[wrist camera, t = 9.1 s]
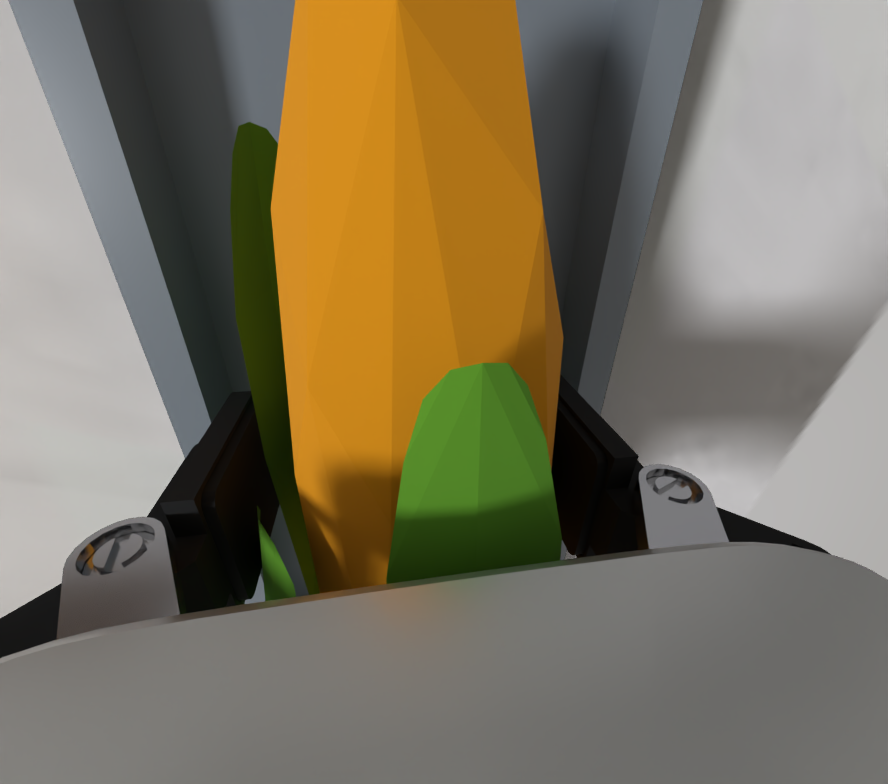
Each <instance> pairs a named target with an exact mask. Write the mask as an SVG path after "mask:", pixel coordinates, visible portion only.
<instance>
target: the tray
mask: <svg viewBox="0 0 888 784" xmlns="http://www.w3.org/2000/svg"><path fill="white" fill-rule="evenodd" d="M515 1H516V9H517V16H518V24H519V32H520V39H521V47H522V54H523V62H524V69H525V77H526V85H527V92H528V100H529V107H530V115H531V122H532V130H533V138H534V145H535V153H536V160H537V168H538V175H539V183H540V191H541V198H542V206H543V213H544V219H545V225H546V231H547V238H548V244H549V250H550V256H551V262H552V269H553V275H554V281H555V287H556V294H557V300H558V306H559V312H560V318H561V325H562V331H563V337H564V338H563V349H562V360H561V371H560V374H561V375H562V376H563V377H564V378H565V380H566V381H567V382H568V383H569V384H570V385H571V386H572V387H573V388H574V389H575V390H576V391H577V392H578V393H579V394H580V395H581V396H582V397H583V398H584V399H585V401H586V402H587V403H588V404H589V405H590V406H591V407H592V408H593V409H594V410H595V411H596V412H597V413H598V414H599V415H600V414H601V410H602V406H603V402H604V398H605V394H606V390H607V386H608V382H609V378H610V374H611V370H612V366H613V362H614V358H615V354H616V350H617V346H618V342H619V338H620V334H621V330H622V326H623V321H624V317H625V313H626V309H627V305H628V301H629V297H630V293H631V289H632V285H633V281H634V277H635V273H636V269H637V265H638V261H639V257H640V253H641V249H642V245H643V241H644V237H645V233H646V229H647V225H648V221H649V217H650V213H651V209H652V205H653V201H654V197H655V193H656V189H657V185H658V181H659V177H660V173H661V168H662V164H663V160H664V156H665V152H666V148H667V144H668V140H669V136H670V132H671V128H672V124H673V120H674V116H675V112H676V108H677V104H678V100H679V96H680V92H681V88H682V84H683V80H684V76H685V72H686V68H687V64H688V60H689V56H690V52H691V48H692V44H693V40H694V36H695V32H696V28H697V24H698V20H699V16H700V11H701V7H702V3H703V0H515ZM9 3H10V5H11V8H12V11H13V13H14V16H15V18H16V21H17V24H18V26H19V29H20V31H21V34H22V37H23V39H24V42H25V44H26V47H27V50H28V52H29V55H30V57H31V60H32V63H33V65H34V68H35V70H36V73H37V76H38V78H39V81H40V83H41V86H42V88H43V91H44V94H45V96H46V99H47V101H48V104H49V107H50V109H51V112H52V114H53V117H54V120H55V122H56V125H57V127H58V130H59V133H60V135H61V138H62V140H63V143H64V146H65V148H66V151H67V153H68V156H69V159H70V161H71V164H72V166H73V169H74V171H75V174H76V177H77V179H78V182H79V184H80V187H81V190H82V192H83V195H84V197H85V200H86V203H87V205H88V208H89V210H90V213H91V216H92V218H93V221H94V223H95V226H96V229H97V231H98V234H99V236H100V239H101V242H102V244H103V247H104V249H105V252H106V255H107V257H108V260H109V262H110V265H111V267H112V270H113V273H114V275H115V278H116V280H117V283H118V286H119V288H120V291H121V293H122V296H123V299H124V301H125V304H126V306H127V309H128V312H129V314H130V317H131V319H132V322H133V325H134V327H135V330H136V332H137V335H138V338H139V340H140V343H141V345H142V348H143V350H144V353H145V356H146V358H147V361H148V363H149V366H150V369H151V371H152V374H153V376H154V379H155V382H156V384H157V387H158V389H159V392H160V395H161V397H162V400H163V402H164V405H165V408H166V410H167V413H168V415H169V418H170V421H171V423H172V426H173V428H174V431H175V433H176V436H177V439H178V441H179V444H180V446H181V449H182V452H183V454H184V457H185V458H186V457H187V455H188V454H189V452H190V451H191V449H192V448H193V447H194V446H195V445H196V444H198V443H199V441H200V440H201V438H202V437H203V435H204V434H205V432H206V431H207V429H208V428H209V426H210V424H211V423H212V421H213V420H214V418H215V417H216V415H217V414H218V412H219V411H220V409H221V407H222V406H223V404H224V403H225V401H226V400H227V398H228V397H229V395H230V394H231V393H232V392H242V391H251V389H250V384H249V379H248V374H247V370H246V365H245V360H244V355H243V350H242V346H241V341H240V336H239V331H238V327H237V322H236V314H235V295H234V276H233V257H232V237H231V218H230V201H231V176H232V153H233V148H234V143H235V139H236V134H237V130H238V126H239V125H242V124H245V123H247V122H251V123H254V124H256V125H259V126H261V127H264V128H266V129H267V130H268V131H269V132H270V134H271V135H272V136H273V138H274V139H275V140H276V142H277V143H278V142H279V133H280V125H281V116H282V108H283V99H284V91H285V82H286V74H287V65H288V57H289V48H290V40H291V32H292V23H293V15H294V6H295V0H9ZM270 538H271V540H272V542H273V543H274V545H275V547H276V549H277V551H278V553H279V555H280V557H281V559H282V561H283V563H284V565H285V568H286V570H287V572H288V574H289V576H290V578H291V580H292V582H293V584H294V588H295V594H296V597H299V596H306V595H309V593H308V590H307V587H306V584H305V581H304V578H303V575H302V571H301V568H300V565H299V562H298V559H297V556H296V553H295V550H294V547H293V544H292V540H291V537H290V534H289V531H288V528H287V525H286V522H285V519H284V516H283V513H282V509H281V506H280V505H279V508H278V512H277V515H276V519H275V523H274V526H273V530H272V533H271V537H270ZM566 551H567V548H566V546H565V544H564V542H563V541H562V544H561V557H560V560H564V559H565V555H566ZM264 601H265V592H264V582H263V571H262V569H261V573H260V576H259V580H258V583H257V587H256V591H255V594H254V596H253V598H252V599H248V600H245V603H244V604H250V603H257V602H264Z"/></svg>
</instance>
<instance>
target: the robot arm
mask: <svg viewBox="0 0 888 784" xmlns="http://www.w3.org/2000/svg"><path fill="white" fill-rule="evenodd" d="M637 459H638V455H637V454H636V453H635V452H634V451H633V450H632V449H631V448H630V447H629V446H628V445H627V443H626V442H625V441H624V440H623V439H622V438H621V437H620V436H619V435H618V434H617V433H616V432H615V431H614V430H613V429H612V428H611V427H610V426H609V425H608V424H607V423H606V421H605V420H604V419H603V418H602V417H601V416H600V415H599V414H598V413H597V412H596V411H595V410H594V409H593V408H592V407H591V406H590V405H589V404H588V403H587V402H586V401H585V399H584V398H583V397H582V396H581V395H580V394H579V393H578V392H577V391H576V390H575V389H574V388H573V387H572V386H571V385H570V384H569V383H568V382H567V381H566V380H565V378H564V377H563V376H562V375H561V374H560V382H559V393H558V404H557V415H556V426H555V437H554V448H553V459H552V470H551V473H552V479H553V486H554V492H555V498H556V504H557V511H558V517H559V523H560V529H561V536H562V541H563V542H564V544H565V546H566V548H567V550H568V552H569V553H570V554H571V555H576V556H577V558H575V559H567V560H559V561H552V562H544V563H537V564H529V565H521V566H514V567H507V568H499V569H492V570H485V571H477V572H470V573H463V574H455V575H448V576H441V577H434V578H426V579H419V580H412V581H405V582H398V583H390V584H383V585H376V586H369V587H362V588H355V589H348V590H341V591H334V592H327V593H320V594H313V595H306V596H299V597H292V598H285V599H278V600H271V601H264V602H257V603H250V604H244V603H245V600H248V599H252V598H253V596H254V594H255V591H256V587H257V583H258V580H259V576H260V573H261V569H262V560H261V549H260V538H259V526H258V514H257V506H258V507H259V509H260V522H261V524H262V526H263V527H264V529H265V530H266V532H267V534H268V535H269V537H271V533H272V530H273V526H274V523H275V519H276V515H277V512H278V508H279V505H280V503H279V500H278V497H277V494H276V491H275V488H274V485H273V481H272V478H271V475H270V472H269V469H268V466H267V463H266V460H265V456H264V451H263V446H262V441H261V436H260V432H259V427H258V422H257V417H256V413H255V408H254V403H253V398H252V393H251V391H242V392H232V393H231V394H230V395H229V397H228V398H227V400H226V401H225V403H224V404H223V406H222V407H221V409H220V411H219V412H218V414H217V415H216V417H215V418H214V420H213V421H212V423H211V424H210V426H209V428H208V429H207V431H206V432H205V434H204V435H203V437H202V438H201V440H200V441H199V443H198V444H196V445H195V446H194V447H193V448H192V449H191V451H190V452H189V454H188V455H187V457H186V458H185V460H184V461H183V463H182V464H181V466H180V467H179V469H178V471H177V472H176V474H175V475H174V477H173V478H172V480H171V481H170V483H169V484H168V486H167V487H166V489H165V490H164V492H163V493H162V495H161V496H160V498H159V499H158V501H157V502H156V504H155V505H154V507H153V508H152V510H151V512H150V513H149V515H148V516H147V517H136V518H129V519H126V520H122V521H119V522H116V523H113V524H111V525H109V526H107V527H105V528H102V529H100V530H99V531H97V532H96V533H94V534H92V535H91V536H89V537H88V538H86V539H85V540H84V541H83V542H82V543H81V544H79V545H78V546H77V547H76V548H75V549H74V550H73V552H72V553H71V554H70V555H69V557H68V558H67V560H66V563H65V565H64V568H63V576H62V583H61V584H60V585H58V586H56V587H54V588H53V589H51V590H49V591H47V592H46V593H44V594H42V595H41V596H39V597H37V598H35V599H34V600H32V601H30V602H28V603H27V604H25V605H23V606H21V607H20V608H18V609H16V610H14V611H13V612H11V613H9V614H7V615H6V616H4V617H2V618H0V784H888V580H887V579H886V578H884V577H882V576H880V575H878V574H877V573H875V572H873V571H872V570H870V569H868V568H866V567H864V566H861V565H859V564H857V563H854V562H852V561H849V560H846V559H843V558H840V557H837V556H834V555H831V554H830V553H828V552H827V551H825V550H824V549H822V548H820V547H818V546H816V545H814V544H812V543H809V542H807V541H805V540H802V539H799V538H797V537H794V536H791V535H789V534H786V533H784V532H781V531H779V530H776V529H773V528H771V527H768V526H765V525H763V524H760V523H758V522H755V521H752V520H750V519H747V518H744V517H742V516H739V515H737V514H734V513H731V512H729V511H726V510H723V509H721V508H718V507H716V505H715V503H714V500H713V497H712V495H711V492H710V491H709V489H708V487H707V486H706V485H705V484H704V483H703V482H702V481H701V480H700V479H698V478H697V477H695V476H694V475H692V474H691V473H689V472H686V471H684V470H682V469H680V468H676V467H673V466H669V465H661V464H655V465H649V466H646V467H643V466H642V465H641V464H640V463H639V462H638V461H637Z"/></svg>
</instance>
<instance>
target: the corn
mask: <svg viewBox="0 0 888 784" xmlns="http://www.w3.org/2000/svg"><path fill="white" fill-rule="evenodd" d="M230 218H231V237H232V257H233V276H234V295H235V314H236V322H237V327H238V331H239V336H240V341H241V346H242V350H243V355H244V360H245V365H246V370H247V374H248V379H249V384H250V389H251V393H252V398H253V403H254V408H255V413H256V417H257V422H258V427H259V432H260V436H261V441H262V446H263V451H264V456H265V460H266V463H267V466H268V469H269V472H270V475H271V478H272V481H273V485H274V488H275V491H276V494H277V497H278V500H279V503H280V506H281V509H282V513H283V516H284V519H285V522H286V525H287V528H288V531H289V534H290V537H291V540H292V544H293V547H294V550H295V553H296V556H297V559H298V562H299V565H300V568H301V571H302V575H303V578H304V581H305V584H306V587H307V590H308V593H309V595H313V594H320V593H327V592H334V591H341V590H348V589H355V588H362V587H369V586H376V585H383V584H390V583H398V582H405V581H412V580H419V579H426V578H434V577H441V576H448V575H455V574H463V573H470V572H477V571H485V570H492V569H499V568H507V567H514V566H521V565H529V564H537V563H544V562H552V561H559V560H560V557H561V544H562V536H561V529H560V523H559V517H558V511H557V504H556V498H555V492H554V486H553V479H552V473H551V470H552V459H553V448H554V437H555V426H556V415H557V404H558V393H559V382H560V371H561V360H562V349H563V338H564V337H563V331H562V325H561V318H560V312H559V306H558V300H557V294H556V287H555V281H554V275H553V269H552V262H551V256H550V250H549V244H548V238H547V231H546V225H545V219H544V213H543V206H542V198H541V191H540V183H539V175H538V168H537V160H536V153H535V145H534V138H533V130H532V122H531V115H530V107H529V100H528V92H527V85H526V77H525V69H524V62H523V54H522V47H521V39H520V32H519V24H518V16H517V9H516V1H515V0H295V6H294V15H293V23H292V32H291V40H290V48H289V57H288V65H287V74H286V82H285V91H284V99H283V108H282V116H281V125H280V133H279V142H278V143H277V142H276V140H275V139H274V138H273V136H272V135H271V134H270V132H269V131H268V130H267V129H266V128H264V127H261V126H259V125H256V124H254V123H251V122H247V123H245V124H242V125H239V126H238V130H237V134H236V139H235V143H234V148H233V153H232V176H231V201H230ZM257 514H258V526H259V538H260V549H261V560H262V571H263V582H264V592H265V601H271V600H278V599H285V598H292V597H296V594H295V588H294V584H293V582H292V580H291V578H290V576H289V574H288V572H287V570H286V568H285V565H284V563H283V561H282V559H281V557H280V555H279V553H278V551H277V549H276V547H275V545H274V543H273V542H272V540H271V538H270V537H269V535H268V534H267V532H266V530H265V529H264V527H263V526H262V524H261V522H260V509H259V507H258V506H257Z"/></svg>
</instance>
